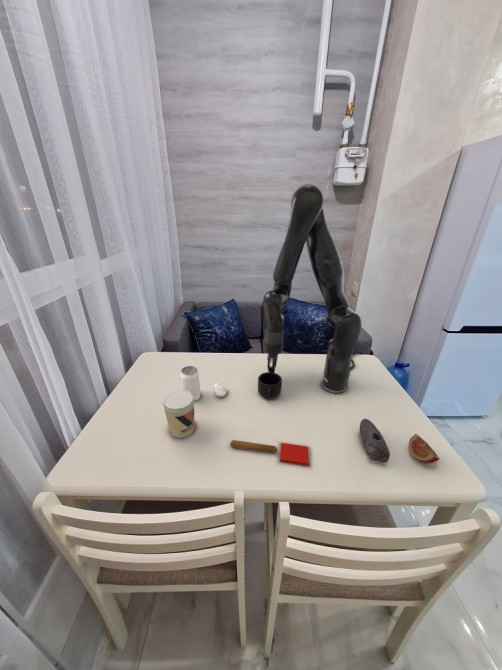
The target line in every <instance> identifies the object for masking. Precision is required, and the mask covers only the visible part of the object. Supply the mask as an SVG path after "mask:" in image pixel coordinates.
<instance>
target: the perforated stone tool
mask: <svg viewBox="0 0 502 670" xmlns="http://www.w3.org/2000/svg"><path fill="white" fill-rule="evenodd" d="M359 435H360V439H361V441H362V444H363V447H364V449H365V452H366V454H367V456H368V457H369V459H370V460H372V461H375V462H379V463H381V464H382V463H385V464H386V463H388V462H389V460H390V456H391V453H390V449H389V447H388V444H387V442H386V440H385V438H384V436H383V435H382V433H381V432H380V430H379V429H378V428H377V426H376V425H375V423H373V422H372V421H371V420H370V419H368V418H363V419H362V420H361V421H360V423H359Z"/></svg>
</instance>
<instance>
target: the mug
mask: <svg viewBox="0 0 502 670" xmlns="http://www.w3.org/2000/svg"><path fill="white" fill-rule="evenodd" d="M282 384H283V378H282V376H281V375H279V373H276V372H275V373H273V372H268V371H267V372H263V373H262V372H261V374H259V376H258V377H257V392H258V394H259V395H260V396H261V397H262V398H264V399H267V401H268V402H269V401H271V399H276V398H278V397H279V396H280V395H281V393H282Z"/></svg>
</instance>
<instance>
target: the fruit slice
mask: <svg viewBox="0 0 502 670" xmlns="http://www.w3.org/2000/svg"><path fill="white" fill-rule="evenodd" d="M408 449H409V453H410V454H411V456H412V457H413V458H414V459H415V460H416V461H418V462H420V463H424V464H434V463H437V462H438V461H439V460H440V457H439V455H438V454H437V453H436V452H435V450H434V449H433V448H432V447H431V445H430V444H428V442H427V441H425V439H423V438H422V437H421V436H420V435H418V433H415V434H414V435H412V436H411V437H410V438H409V441H408Z"/></svg>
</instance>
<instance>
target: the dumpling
mask: <svg viewBox="0 0 502 670" xmlns="http://www.w3.org/2000/svg"><path fill="white" fill-rule="evenodd" d="M213 392H214V394H215V396H216V397H219V398H220V397H225V396H226V395H227V389H226V387H225V386H224V385H223V384H221V383H216V382H215V383H214V385H213Z"/></svg>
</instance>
